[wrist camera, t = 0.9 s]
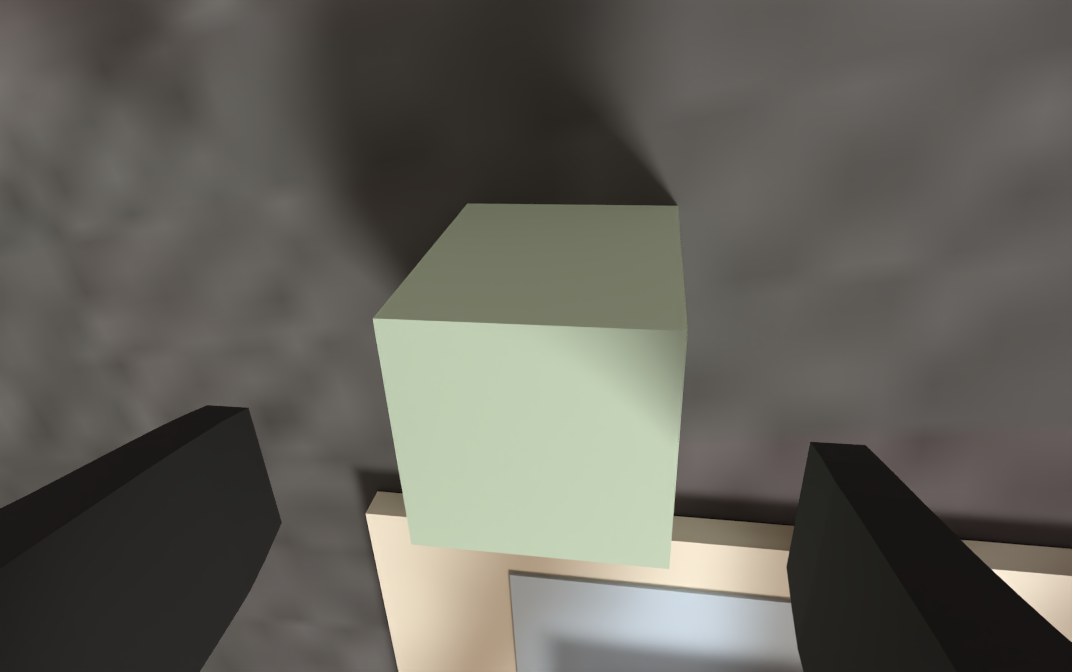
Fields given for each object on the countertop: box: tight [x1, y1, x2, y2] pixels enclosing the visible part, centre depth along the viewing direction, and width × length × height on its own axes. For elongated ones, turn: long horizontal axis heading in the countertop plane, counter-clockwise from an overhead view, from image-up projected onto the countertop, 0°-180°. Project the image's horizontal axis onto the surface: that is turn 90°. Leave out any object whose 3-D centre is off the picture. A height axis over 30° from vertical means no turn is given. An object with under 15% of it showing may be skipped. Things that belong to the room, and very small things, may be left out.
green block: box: [373, 203, 688, 569], centre depth 12 cm, size 4×4×5 cm
